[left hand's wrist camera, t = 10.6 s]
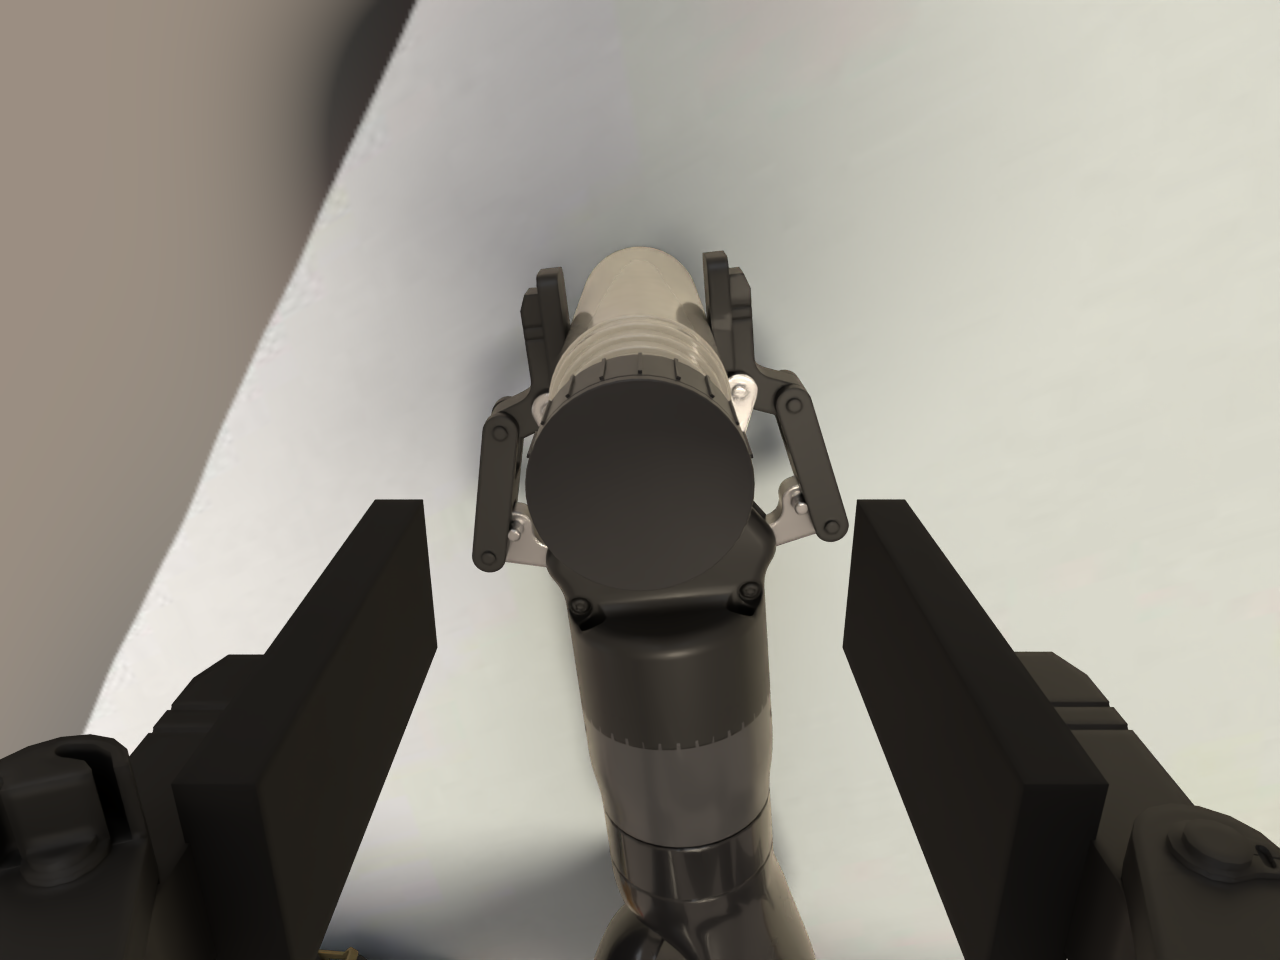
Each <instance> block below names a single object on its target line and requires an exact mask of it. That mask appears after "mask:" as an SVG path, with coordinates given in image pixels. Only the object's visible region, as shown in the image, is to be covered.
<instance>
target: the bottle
mask: <svg viewBox="0 0 1280 960" xmlns="http://www.w3.org/2000/svg"><path fill="white" fill-rule="evenodd" d="M638 352H642V355H654V356H662V357H665V358H669V359H673V360H674V358H676V359H678V361H679V362H681V363H683V364H686V365H688V366H690V367H692V368H693V369H695V370H697V371H699V372H700V373H702V374H703V375H704V376H706V375H708V376H709V377H710V380H711V381H712V382H713V383H714V384H715V385H716V386H717V387H718V388H719V389H720V390H721V392H722V393H723V394H724V396H725V397H726V398H727V400H728V401H730V400H731V389H730V385H729V380H728V376H727V374H726V371H725V368H724V365H723V362H722V360H721V357H720V354H719V351H718V348H717V346H716V343H715V340H714V337H713V334H712V332H711V329H710V326H709V323H708V320H707V318H706V315H705V312H704V309H703V306H702V304H701V301H700V298H699V295H698V292H697V290H696V287H695V284H694V282H693V279H692V278H691V276H690V274H689V273H688V271H687V270H686V268H685V267H684V266H683V265H682V264H681V263H680V262H679V261H678V260H676V259H675V258H674V257H672V256H671V255H669V254H667V253H665V252H663V251H661V250H658V249H654V248H650V247H630V248H625V249H622V250H619V251H617V252H614V253H612V254H611V255H609V256H607V257H606V258H605V259H603V260H602V261H601V262H600V263H599V264H598V265H597V266H596V267H595V268H594V270H593V271H592V272H591V274H590V276H589V277H588V279H587V281H586V284H585V286H584V289H583V292H582V295H581V297H580V300H579V303H578V306H577V309H576V311H575V314H574V317H573V320H572V323H571V325H570V328H569V331H568V334H567V337H566V340H565V342H564V345H563V348H562V351H561V354H560V356H559V359H558V362H557V365H556V368H555V370H554V373H553V376H552V380H551V384H550V388H549V398H548V401H549V400H551V401H552V399H553V398H554V397H555V395H556V394H557V393H558V391H559V390H560V389H561V388H562V387H563V386H564V385H565V384H566V383H567V382H568V381H569V380H570V377H571V376H572V375H573V374H574V376H576V375H577V374H578V373H580V372H581V371H583V370H585V369H586V368H588V367H590V366H592V365H594V364H596V363H599V362H601V361H602V359H603V358H606V360H607V359H611V358H615V357H618V356H626V355H638Z"/></svg>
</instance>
